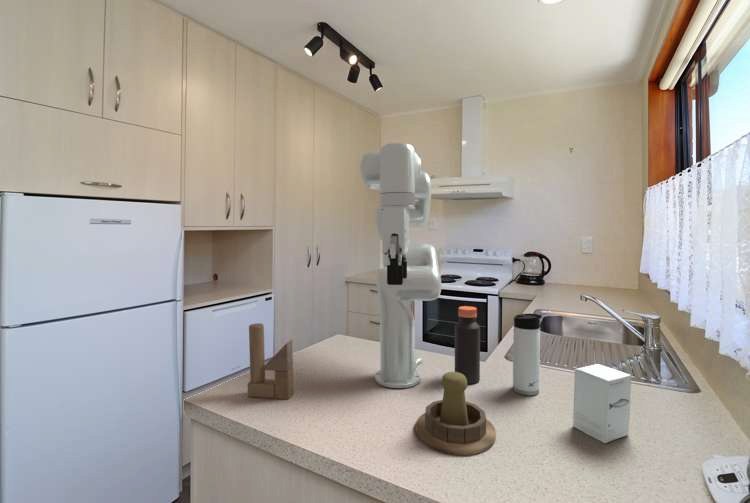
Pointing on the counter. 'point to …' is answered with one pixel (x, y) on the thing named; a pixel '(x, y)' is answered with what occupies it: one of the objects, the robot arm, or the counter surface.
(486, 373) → the counter surface
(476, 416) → the collar stand
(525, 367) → the travel mug
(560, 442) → the counter surface
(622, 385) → the supplement box
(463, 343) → the bottle
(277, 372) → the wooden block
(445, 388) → the olive knobbed pestle
